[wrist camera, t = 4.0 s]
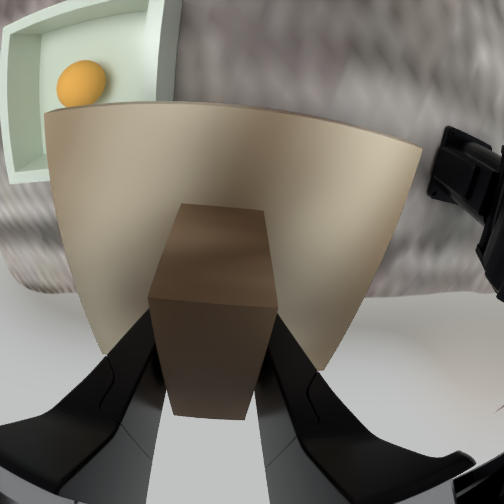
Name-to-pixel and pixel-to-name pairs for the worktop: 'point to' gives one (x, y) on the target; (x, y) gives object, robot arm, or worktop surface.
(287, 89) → the worktop surface
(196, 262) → the cover
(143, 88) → the dish
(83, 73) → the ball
